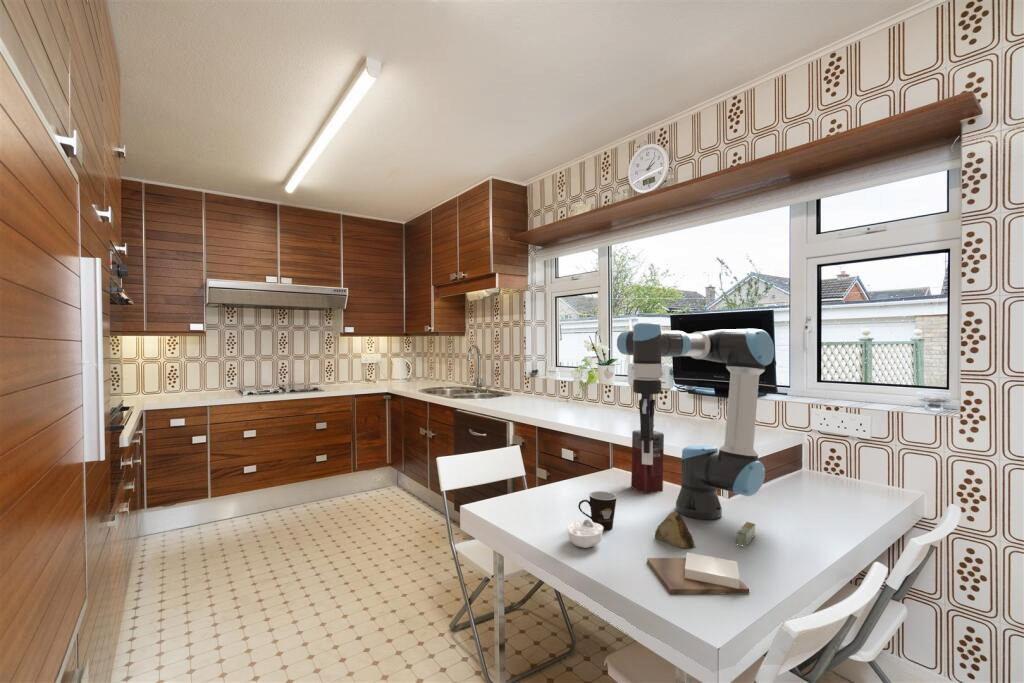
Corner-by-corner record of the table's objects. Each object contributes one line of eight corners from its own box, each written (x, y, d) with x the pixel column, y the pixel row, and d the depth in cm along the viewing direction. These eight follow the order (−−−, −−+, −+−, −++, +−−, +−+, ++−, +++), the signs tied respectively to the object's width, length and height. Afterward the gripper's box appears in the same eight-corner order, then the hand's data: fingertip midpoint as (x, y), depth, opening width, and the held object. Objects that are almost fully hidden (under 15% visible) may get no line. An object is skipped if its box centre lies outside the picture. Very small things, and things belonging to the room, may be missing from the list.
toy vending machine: (649, 495, 183) (651, 423, 183) (630, 487, 193) (632, 419, 193) (667, 492, 187) (668, 422, 187) (647, 484, 197) (649, 418, 197)
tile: (684, 568, 115) (739, 579, 110) (686, 552, 124) (737, 561, 119) (684, 578, 115) (739, 589, 110) (686, 561, 124) (736, 571, 119)
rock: (644, 529, 143) (663, 538, 133) (658, 505, 145) (677, 511, 135) (670, 549, 144) (691, 559, 134) (683, 524, 146) (704, 532, 137)
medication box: (745, 548, 137) (746, 534, 136) (735, 545, 138) (736, 532, 138) (755, 535, 146) (755, 523, 146) (745, 533, 148) (746, 520, 148)
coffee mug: (616, 523, 153) (617, 492, 153) (615, 533, 144) (615, 501, 145) (580, 519, 156) (581, 489, 156) (577, 528, 148) (578, 497, 148)
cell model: (558, 546, 135) (558, 522, 135) (581, 534, 144) (582, 512, 144) (588, 557, 128) (589, 532, 128) (610, 544, 137) (611, 520, 137)
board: (716, 562, 127) (716, 557, 127) (749, 593, 111) (749, 588, 111) (647, 562, 126) (647, 557, 126) (670, 594, 110) (670, 589, 110)
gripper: (636, 376, 137) (637, 457, 137) (629, 380, 125) (629, 468, 125) (663, 377, 134) (663, 459, 134) (658, 381, 122) (658, 471, 122)
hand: (647, 463), depth 130 cm, fingers closed
